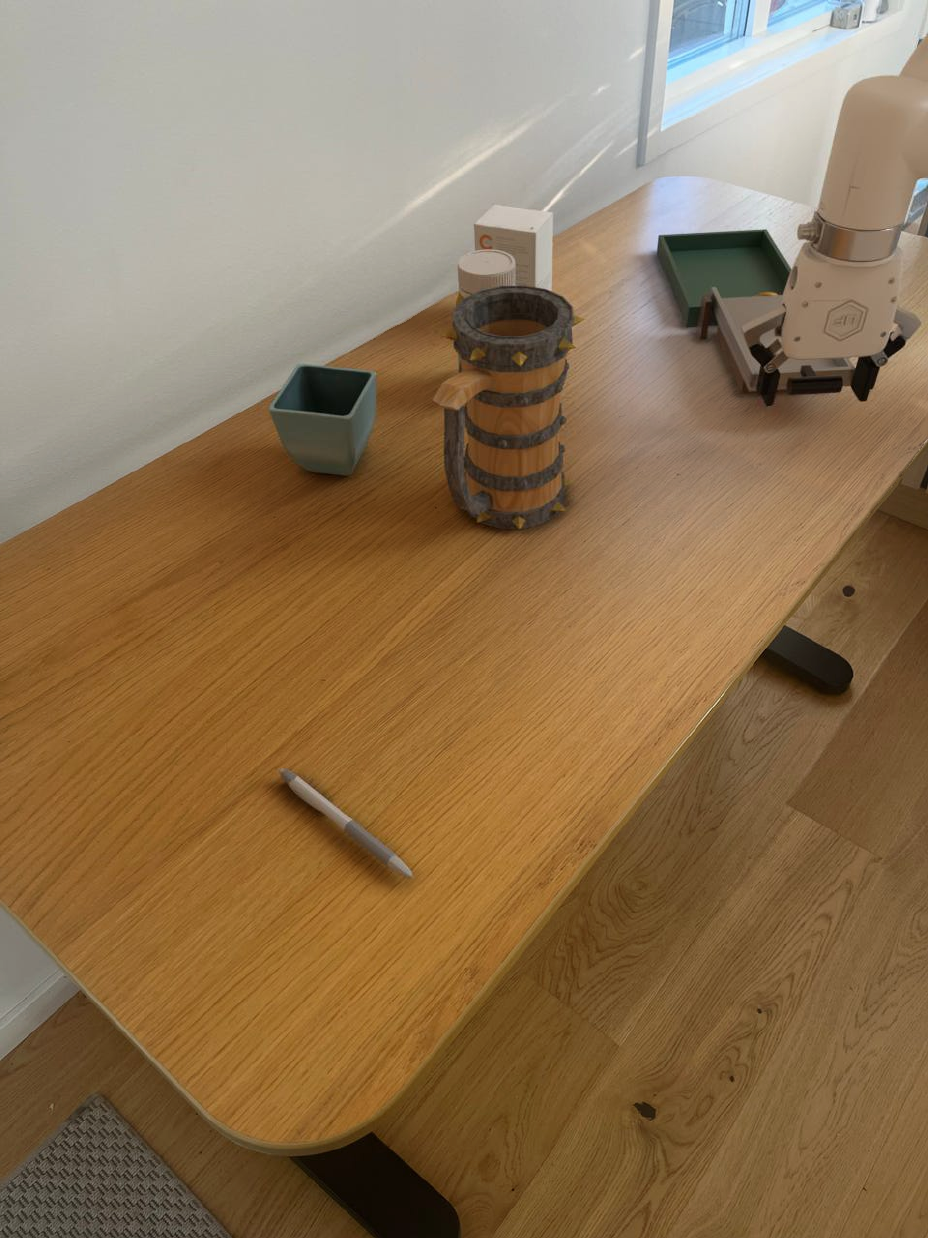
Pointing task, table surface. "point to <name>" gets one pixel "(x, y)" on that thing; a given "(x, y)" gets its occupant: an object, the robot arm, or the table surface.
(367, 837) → the pen
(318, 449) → the flower pot
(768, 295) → the yellow block
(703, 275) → the tray
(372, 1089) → the table surface
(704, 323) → the stand
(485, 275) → the bottle
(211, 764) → the table surface
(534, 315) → the mug
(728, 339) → the grey pull-out drawer
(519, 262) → the small box
